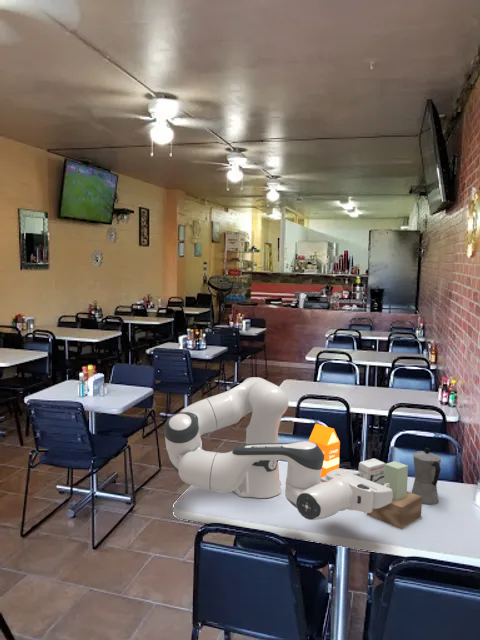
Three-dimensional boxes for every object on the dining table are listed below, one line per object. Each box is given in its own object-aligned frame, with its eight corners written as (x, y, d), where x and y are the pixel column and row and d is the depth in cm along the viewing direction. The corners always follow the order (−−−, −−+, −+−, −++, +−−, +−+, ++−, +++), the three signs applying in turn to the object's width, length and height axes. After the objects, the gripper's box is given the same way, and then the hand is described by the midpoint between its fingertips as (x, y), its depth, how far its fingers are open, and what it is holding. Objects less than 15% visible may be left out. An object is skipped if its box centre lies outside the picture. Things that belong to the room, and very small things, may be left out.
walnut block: (366, 515, 161) (367, 494, 161) (387, 504, 169) (388, 484, 169) (400, 530, 153) (402, 507, 152) (420, 518, 161) (422, 496, 160)
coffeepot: (403, 491, 180) (405, 441, 179) (428, 490, 181) (431, 441, 180) (423, 511, 165) (426, 457, 163) (450, 510, 166) (453, 456, 164)
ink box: (367, 500, 172) (368, 466, 171) (356, 495, 176) (357, 462, 175) (384, 495, 176) (385, 462, 176) (373, 490, 181) (374, 457, 180)
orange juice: (320, 472, 196) (321, 421, 195) (338, 479, 190) (340, 427, 188) (307, 477, 191) (308, 425, 189) (325, 484, 184) (327, 430, 183)
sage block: (383, 494, 161) (384, 464, 160) (393, 491, 164) (394, 461, 163) (396, 500, 157) (398, 468, 156) (406, 496, 160) (408, 465, 159)
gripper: (316, 490, 152) (346, 479, 161) (374, 515, 136) (403, 502, 145) (317, 469, 151) (346, 460, 160) (375, 492, 136) (404, 480, 145)
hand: (374, 480), depth 152 cm, fingers open, 8 cm apart
